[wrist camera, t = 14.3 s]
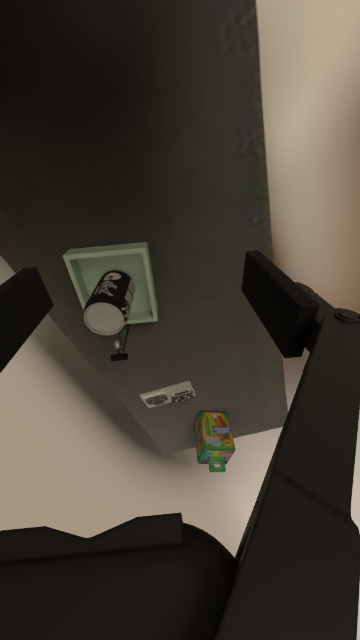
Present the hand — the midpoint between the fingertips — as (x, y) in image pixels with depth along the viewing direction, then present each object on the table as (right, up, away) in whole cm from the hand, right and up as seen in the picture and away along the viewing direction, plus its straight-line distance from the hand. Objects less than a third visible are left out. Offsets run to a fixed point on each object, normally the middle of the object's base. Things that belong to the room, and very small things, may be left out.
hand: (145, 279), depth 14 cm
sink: (-10, +4, +28) cm, 30 cm away
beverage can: (-10, +4, +28) cm, 30 cm away
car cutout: (-1, -24, +48) cm, 54 cm away
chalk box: (+12, -35, +57) cm, 68 cm away
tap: (-9, -3, +33) cm, 34 cm away
